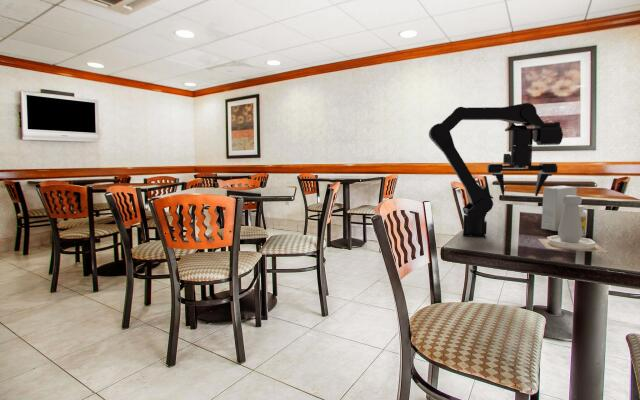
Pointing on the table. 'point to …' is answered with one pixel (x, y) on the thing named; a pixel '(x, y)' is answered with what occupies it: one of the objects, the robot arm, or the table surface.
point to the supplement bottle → (582, 218)
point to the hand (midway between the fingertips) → (519, 195)
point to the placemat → (545, 243)
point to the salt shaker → (571, 220)
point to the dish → (581, 245)
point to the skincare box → (554, 205)
